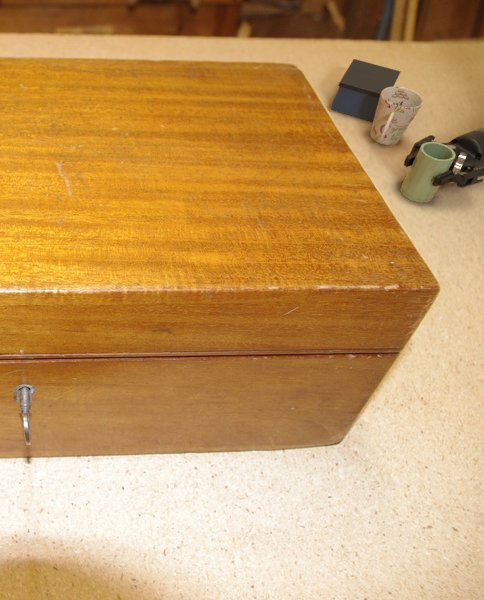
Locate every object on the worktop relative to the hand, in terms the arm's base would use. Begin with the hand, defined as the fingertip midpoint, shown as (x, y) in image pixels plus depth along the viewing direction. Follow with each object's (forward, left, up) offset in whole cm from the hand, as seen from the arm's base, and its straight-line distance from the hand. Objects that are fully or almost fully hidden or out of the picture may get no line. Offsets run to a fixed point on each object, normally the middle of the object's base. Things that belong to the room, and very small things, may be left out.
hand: (421, 171), depth 136 cm
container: (+17, -30, -6) cm, 34 cm away
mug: (+9, -17, -6) cm, 20 cm away
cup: (-1, -2, -6) cm, 6 cm away
